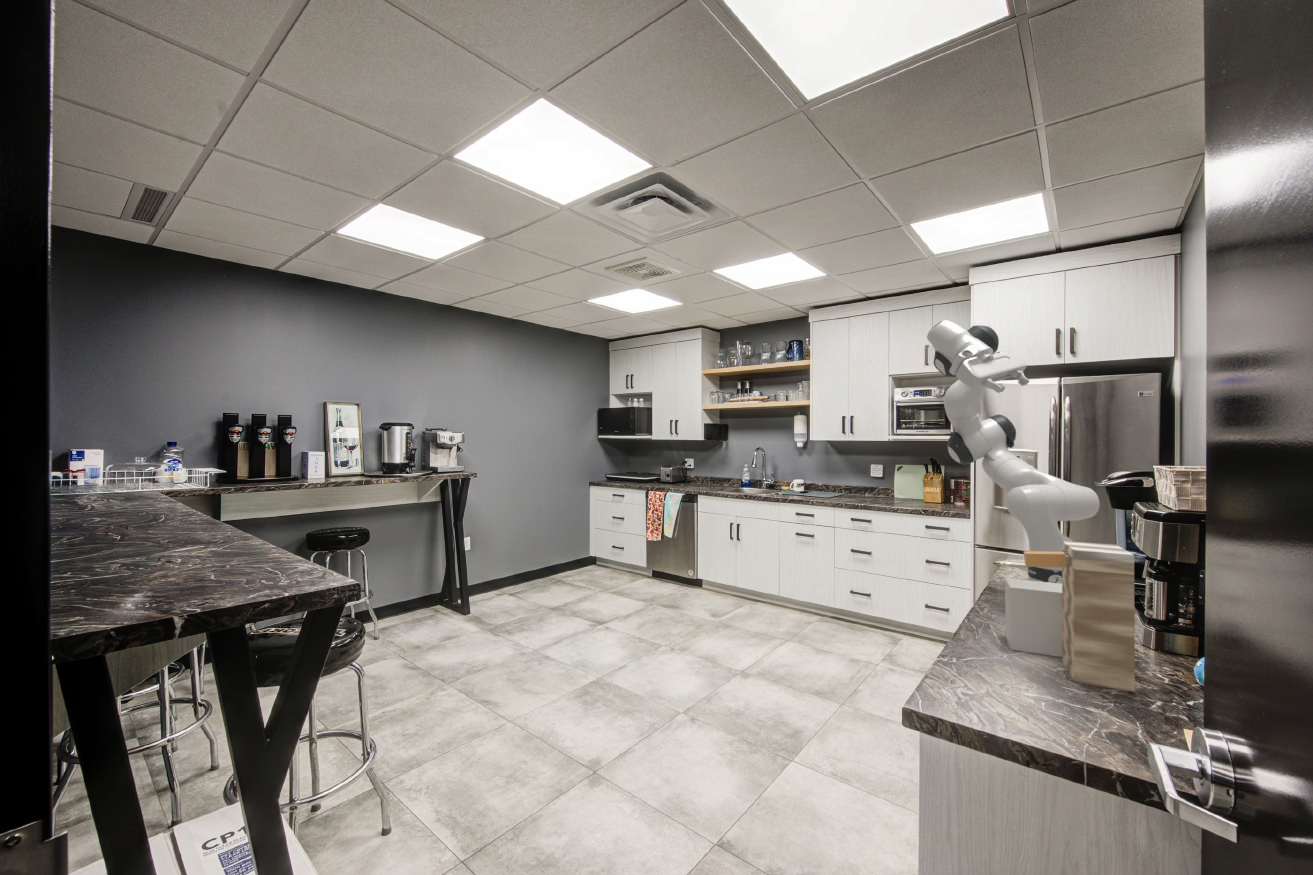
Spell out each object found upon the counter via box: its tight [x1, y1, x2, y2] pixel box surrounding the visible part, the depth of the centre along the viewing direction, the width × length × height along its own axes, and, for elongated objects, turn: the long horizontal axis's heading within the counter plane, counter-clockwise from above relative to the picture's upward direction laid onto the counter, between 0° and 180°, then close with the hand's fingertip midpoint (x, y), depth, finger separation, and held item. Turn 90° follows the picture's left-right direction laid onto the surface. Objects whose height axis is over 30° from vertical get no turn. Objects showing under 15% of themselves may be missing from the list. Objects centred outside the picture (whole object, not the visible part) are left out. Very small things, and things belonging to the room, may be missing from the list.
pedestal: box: [1004, 577, 1062, 658], centre depth 135 cm, size 10×14×16 cm
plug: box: [1023, 550, 1070, 568], centre depth 122 cm, size 3×13×3 cm, turn 63°
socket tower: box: [1061, 541, 1136, 693], centre depth 119 cm, size 12×10×28 cm
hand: (1014, 386), depth 146 cm, fingers open, 8 cm apart
